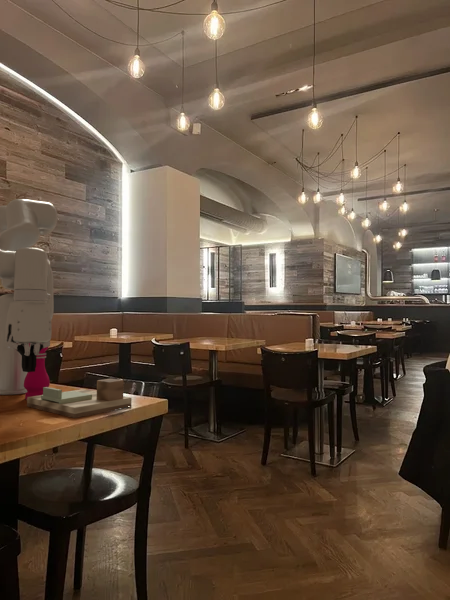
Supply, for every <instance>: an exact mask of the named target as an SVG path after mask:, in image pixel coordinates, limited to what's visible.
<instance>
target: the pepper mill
mask: <svg viewBox="0 0 450 600" xmlns="http://www.w3.org/2000/svg"><path fill="white" fill-rule="evenodd" d="M29 347H30V343H29ZM48 349H49V347H45V348H42V349H41V351H40V352H39V354H38V355H37V356H36V368H35V372H28V373H27V375H26V377H25V380H24V388H25V389H26V390H27V392H26V393H24V399H25V400H26V401H27V397H32V396H39V395H43V387H49V388H50V384H51V383H50V382H51V381H50V376H49V375H48V372H47V369H46V365H45V364H46V363H45V362H46V358H47V352H46V351H47V350H48Z"/></svg>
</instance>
